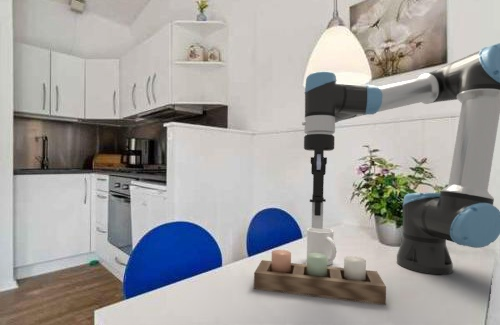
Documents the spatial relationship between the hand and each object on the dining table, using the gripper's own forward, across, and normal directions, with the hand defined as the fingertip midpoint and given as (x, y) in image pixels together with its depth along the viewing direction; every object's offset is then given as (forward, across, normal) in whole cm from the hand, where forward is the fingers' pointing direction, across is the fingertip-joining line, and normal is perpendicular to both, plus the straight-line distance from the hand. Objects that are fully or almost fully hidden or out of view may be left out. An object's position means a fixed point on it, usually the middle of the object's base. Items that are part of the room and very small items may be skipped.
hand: (317, 227), depth 72 cm
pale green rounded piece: (+11, 0, 0) cm, 11 cm away
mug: (+15, -20, +2) cm, 25 cm away
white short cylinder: (+11, 0, +9) cm, 15 cm away
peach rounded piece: (+11, 0, -9) cm, 14 cm away
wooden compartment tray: (+15, 0, 0) cm, 15 cm away
